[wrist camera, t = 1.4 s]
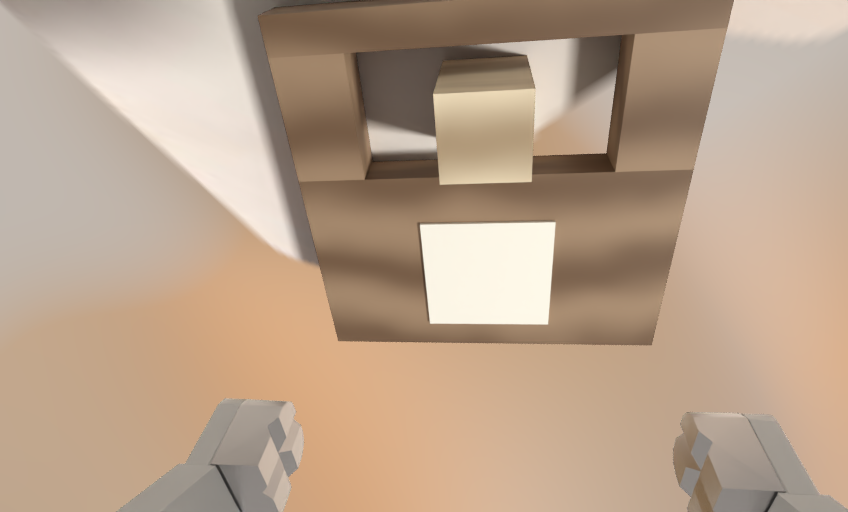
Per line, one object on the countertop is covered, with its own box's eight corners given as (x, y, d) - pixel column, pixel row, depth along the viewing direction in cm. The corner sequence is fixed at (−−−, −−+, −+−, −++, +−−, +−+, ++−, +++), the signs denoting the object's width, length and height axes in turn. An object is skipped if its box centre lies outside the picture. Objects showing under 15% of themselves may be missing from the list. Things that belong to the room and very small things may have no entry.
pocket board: (275, 7, 27) (255, 16, 24) (717, -29, 24) (740, -22, 21) (346, 318, 39) (337, 342, 37) (642, 320, 36) (652, 347, 34)
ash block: (442, 60, 27) (433, 94, 22) (526, 55, 27) (535, 88, 22) (447, 138, 30) (439, 184, 25) (524, 135, 29) (531, 181, 24)
